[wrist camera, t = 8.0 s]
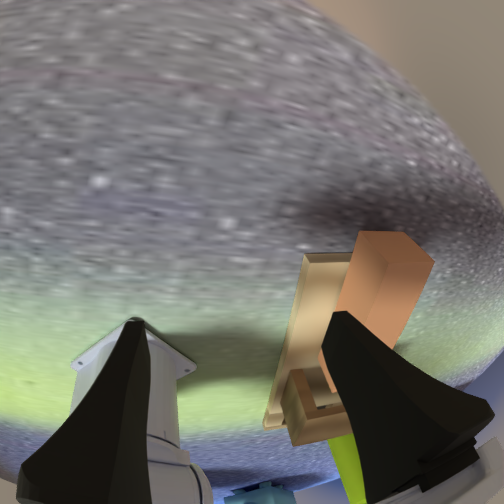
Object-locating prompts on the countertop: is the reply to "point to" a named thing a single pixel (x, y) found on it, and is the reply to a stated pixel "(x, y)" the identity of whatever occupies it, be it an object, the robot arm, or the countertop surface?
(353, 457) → the soap dispenser
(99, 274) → the countertop surface
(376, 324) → the block
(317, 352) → the board
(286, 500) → the teapot
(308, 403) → the tunnel
